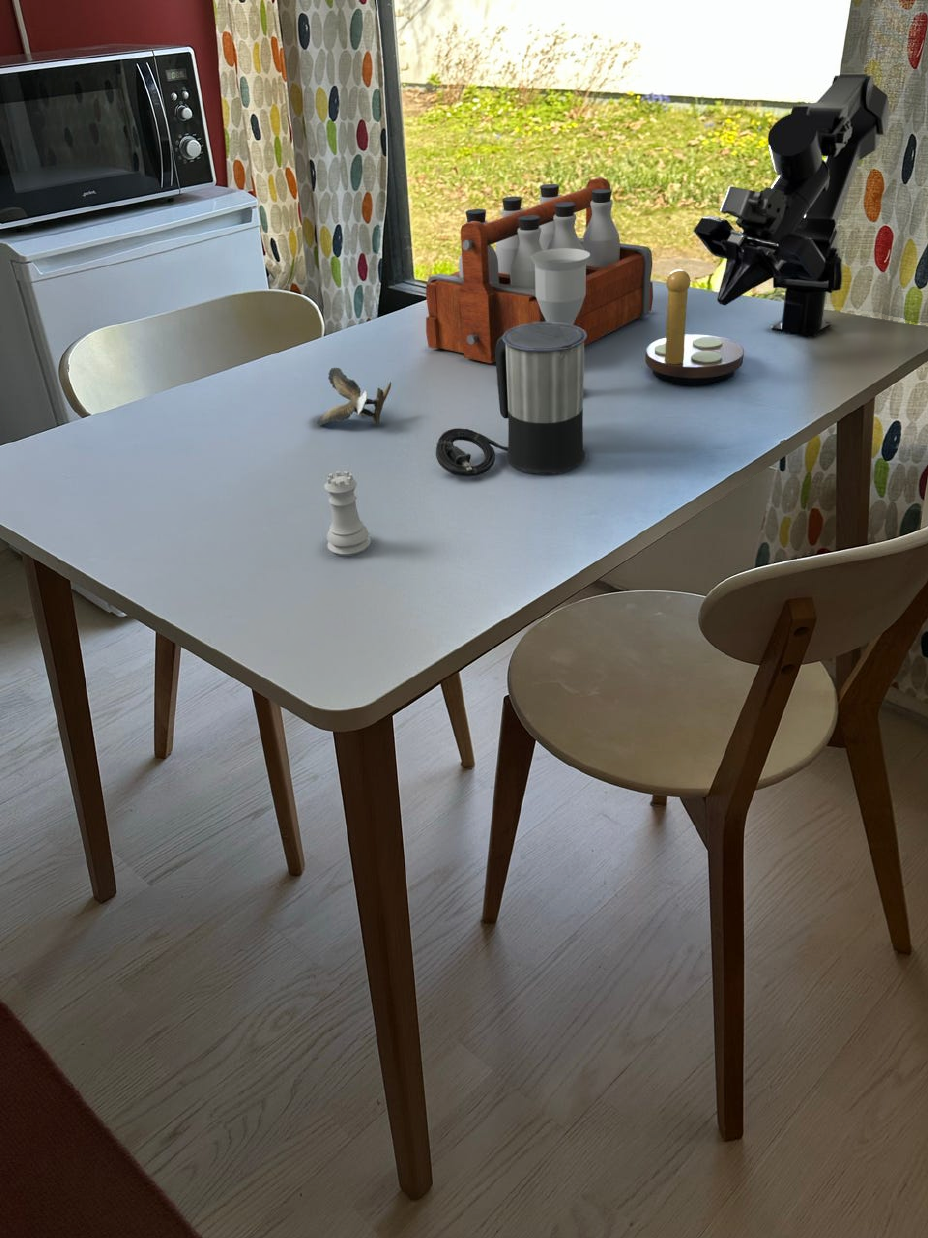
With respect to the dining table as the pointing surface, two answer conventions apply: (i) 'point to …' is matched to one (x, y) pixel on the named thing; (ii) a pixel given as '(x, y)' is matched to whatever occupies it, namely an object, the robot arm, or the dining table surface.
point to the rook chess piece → (345, 517)
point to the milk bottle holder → (505, 278)
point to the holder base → (692, 379)
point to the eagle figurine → (352, 399)
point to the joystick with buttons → (690, 342)
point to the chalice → (560, 283)
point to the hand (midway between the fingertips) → (720, 302)
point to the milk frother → (531, 403)
